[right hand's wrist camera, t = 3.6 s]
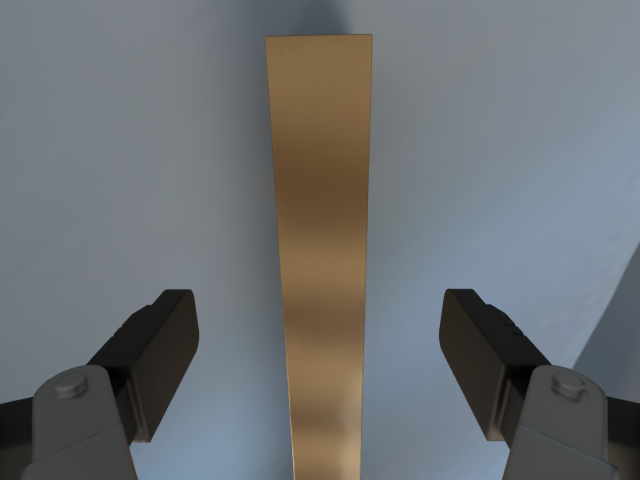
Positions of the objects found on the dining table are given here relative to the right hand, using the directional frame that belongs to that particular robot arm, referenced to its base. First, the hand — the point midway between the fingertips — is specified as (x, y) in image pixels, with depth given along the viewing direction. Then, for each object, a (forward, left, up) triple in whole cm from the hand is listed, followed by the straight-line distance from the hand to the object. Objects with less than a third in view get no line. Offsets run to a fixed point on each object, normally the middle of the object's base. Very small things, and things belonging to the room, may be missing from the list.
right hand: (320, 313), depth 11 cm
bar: (+29, -6, -14) cm, 33 cm away
